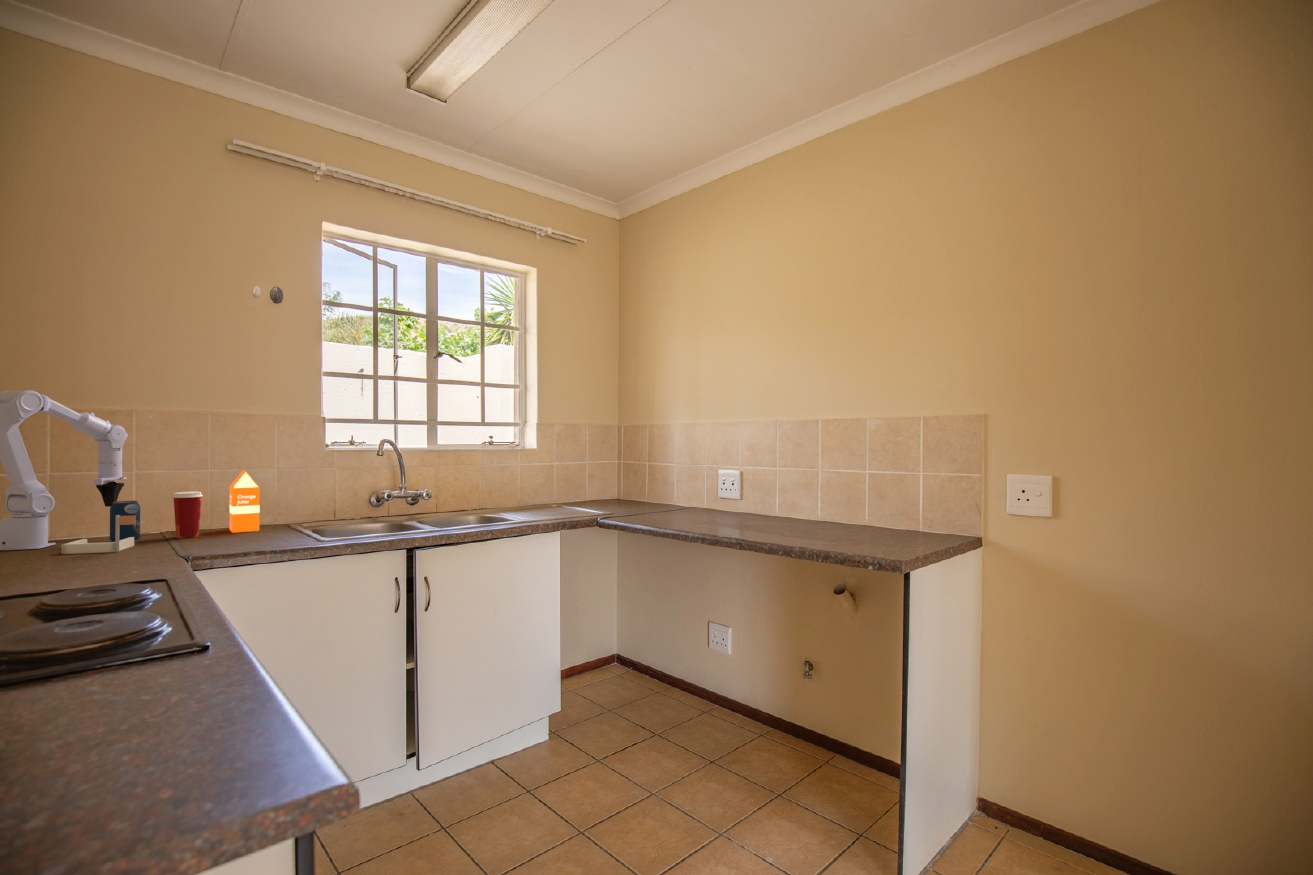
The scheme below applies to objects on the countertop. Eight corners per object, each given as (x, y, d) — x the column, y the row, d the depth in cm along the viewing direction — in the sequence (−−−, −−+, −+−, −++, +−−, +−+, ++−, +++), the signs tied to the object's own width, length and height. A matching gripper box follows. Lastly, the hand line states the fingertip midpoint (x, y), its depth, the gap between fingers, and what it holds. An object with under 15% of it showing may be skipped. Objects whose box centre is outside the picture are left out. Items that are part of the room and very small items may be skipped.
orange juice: (256, 527, 216) (256, 469, 216) (259, 530, 210) (260, 470, 210) (228, 529, 212) (229, 470, 212) (231, 532, 205) (231, 471, 205)
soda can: (142, 541, 187) (142, 501, 187) (111, 544, 182) (111, 503, 182) (137, 539, 192) (137, 499, 192) (107, 541, 186) (108, 501, 186)
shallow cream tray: (58, 554, 166) (59, 517, 166) (82, 547, 176) (83, 512, 176) (134, 551, 171) (134, 515, 171) (153, 544, 181) (153, 510, 181)
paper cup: (208, 535, 199) (209, 491, 199) (188, 539, 191) (188, 493, 191) (186, 534, 200) (186, 491, 200) (165, 538, 192) (165, 493, 192)
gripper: (113, 463, 190) (113, 508, 190) (137, 461, 204) (136, 503, 204) (85, 464, 188) (85, 509, 188) (110, 462, 202) (110, 504, 202)
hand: (110, 506), depth 196 cm, fingers closed
